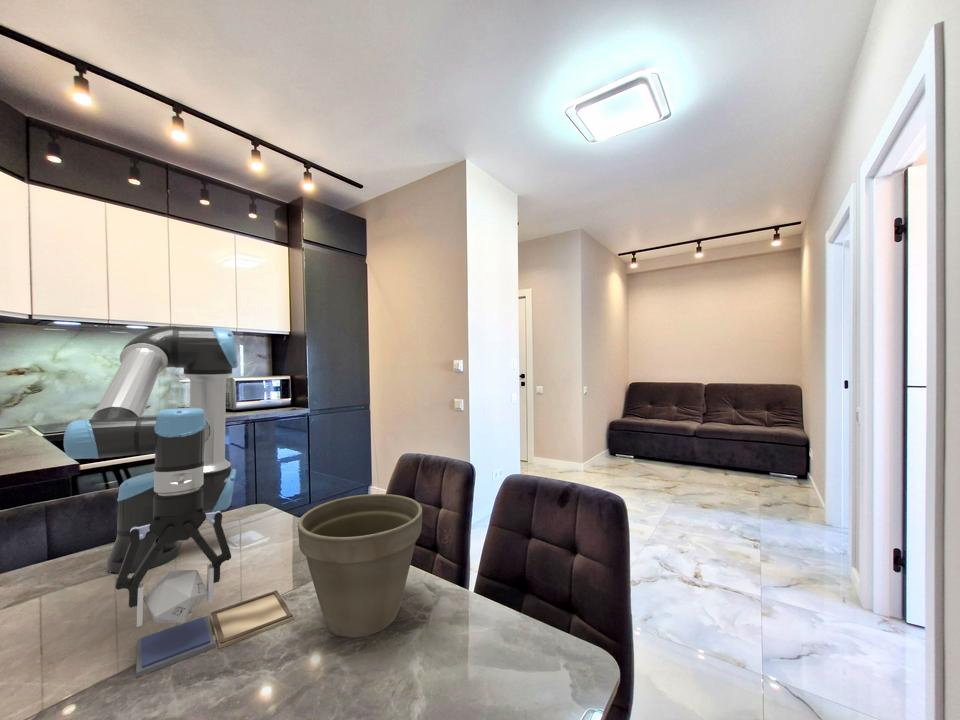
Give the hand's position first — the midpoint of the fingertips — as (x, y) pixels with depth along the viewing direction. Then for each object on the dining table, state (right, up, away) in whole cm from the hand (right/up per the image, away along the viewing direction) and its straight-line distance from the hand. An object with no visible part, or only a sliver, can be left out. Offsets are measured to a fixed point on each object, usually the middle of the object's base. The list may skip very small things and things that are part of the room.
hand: (176, 610), depth 73 cm
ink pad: (0, -6, 0) cm, 6 cm away
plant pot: (+32, -7, +8) cm, 34 cm away
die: (0, -1, 0) cm, 1 cm away
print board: (+9, -7, +8) cm, 14 cm away
